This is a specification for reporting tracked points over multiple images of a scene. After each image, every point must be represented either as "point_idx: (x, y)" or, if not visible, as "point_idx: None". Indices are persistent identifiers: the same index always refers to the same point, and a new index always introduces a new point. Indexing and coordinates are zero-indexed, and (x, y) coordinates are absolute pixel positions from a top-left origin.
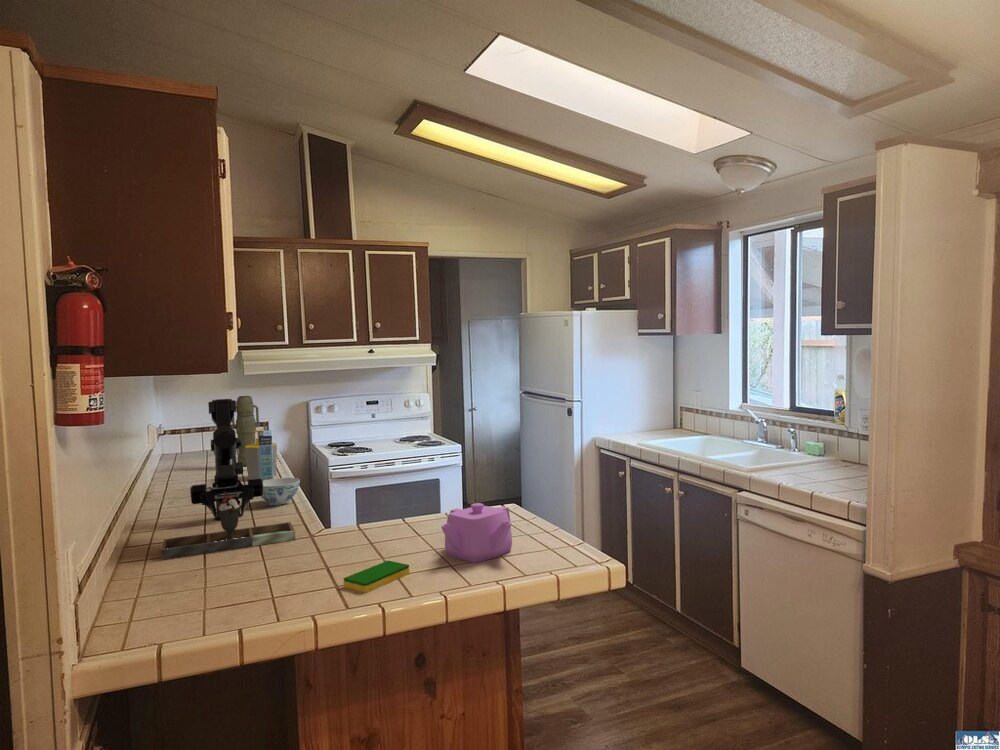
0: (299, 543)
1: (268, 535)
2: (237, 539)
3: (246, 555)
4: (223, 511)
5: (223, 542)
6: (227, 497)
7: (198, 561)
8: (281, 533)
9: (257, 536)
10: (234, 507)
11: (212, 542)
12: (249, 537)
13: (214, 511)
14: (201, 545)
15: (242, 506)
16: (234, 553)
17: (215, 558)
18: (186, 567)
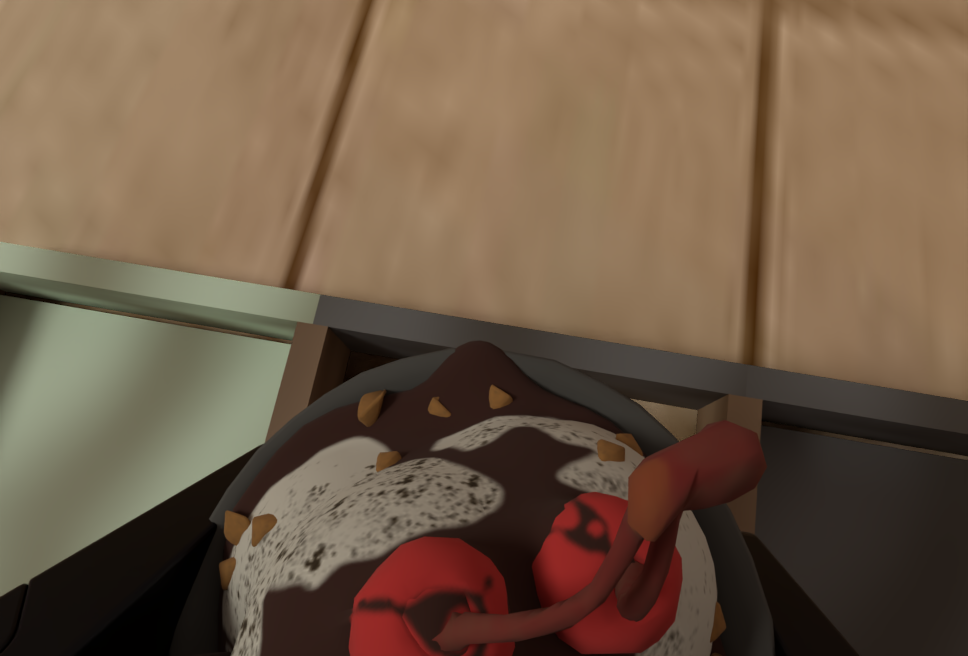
0: (22, 147)
1: (168, 270)
2: (461, 319)
3: (457, 103)
4: (627, 401)
5: (598, 341)
6: (502, 612)
7: (810, 188)
8: (47, 250)
9: (268, 288)
10: (377, 450)
11: (706, 378)
12: (343, 306)
13: (799, 616)
14: (814, 381)
15: (185, 519)
16: (523, 217)
17: (679, 180)
18: (897, 96)
